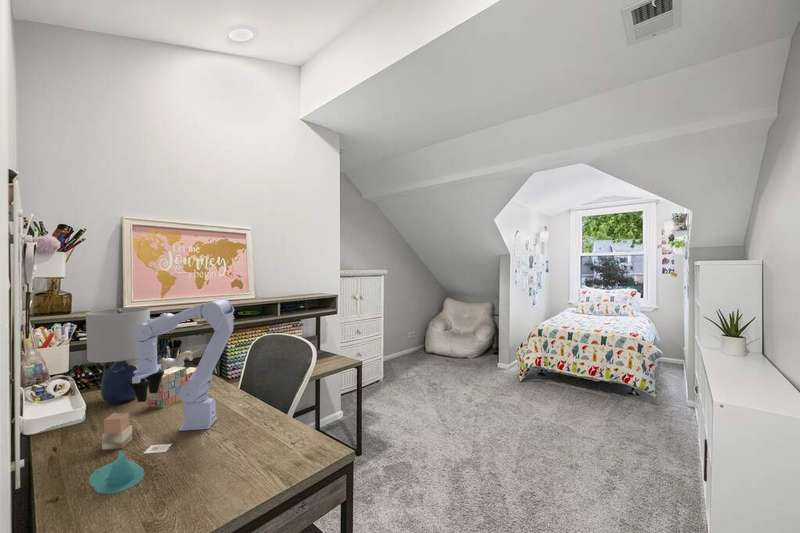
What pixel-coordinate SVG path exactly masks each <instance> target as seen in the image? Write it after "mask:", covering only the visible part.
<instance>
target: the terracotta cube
mask: <svg viewBox="0 0 800 533" xmlns="http://www.w3.org/2000/svg"><path fill="white" fill-rule="evenodd" d="M129 426H130V412H117V413H116V412H113V413H112V414H110V415H109V416H107V417H105V418H104V419H103V427H104V428H103V429H104V431H103V432H104V433H103V434H118V433H122V432H123V431H124V430H126V429H127V428H128V427H129Z"/></svg>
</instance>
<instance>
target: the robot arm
mask: <svg viewBox="0 0 800 533" xmlns="http://www.w3.org/2000/svg"><path fill="white" fill-rule="evenodd" d="M234 313H235V308H234V306H233V304H232V303H231V301H230V300H228V299H226V298H220V299H218V300H212V301H207V302H204V303H199V304H195V305H194V306H191V307H188V308H187V309H185V310H182V311H180V312H178V313H176V314H173V313H170V312H167V313H166V312H163V313H161V314H160V316H158V317H156V318H150V319H149V320H147V321H148V322H146V323H143V324H138V325H137V326H135V327H134V328H133V330H132V336H133V338H134V339H135V340H136V347H137V358H136V368H137V370H136V371H134V374H135V376H134V377H132V381H131V382H129V385H130V386H131V388H132V389H133V390H134V392H135V395H136V397H135V398H136V400H137V402H138V403H144V402H146V401H147V398H148V397H147V396H148V392H149V391H150V393H157V392H158V389H159V384H160V381H161V378H162V376H163V374H164V371H161V364H160V363H159V364H158V345H157V344H158V343H157V342H158V337H159V336H161V335H163V334H166V333H167V332H170V331H172V330H175V329H176V328H178V326H179V324H180V323H183V322H185V321H187V320H190V319H194V318H196V317H198V318H199V319H202V318H203V319H205V321H206V322H207V323H208V324H209V325H210V326H211V328H213V330H214V332H213V334H212V336H211V338H210V340H209V342H208V344H207V347H206V348H205V350H204V352H203V354H202V357H201V358H200V361H199V362H198V364H197V366H196V367H195V368H196V370H195V372H194V374H193V375H192V376H191V377H190V378H189V379H188V381H187V383H186V384H185V385H184V386H182V387H181V389H180V390H179V397H180V399H181V400H180V401H182V404H183V425H181V427H180V428H179V429H178V431H180V432H181V431H196V430H198V431H199V430H209V429H210V428H211V427H212V425H214V423H215V422H216V420H217V419H218V418H217V401H216V399H215V398H211V397H209V396H208V392H209V391H210V389H211V387H212V380H213V375H212V374H213V371H214V370H215V368H216V365H217V364H218V362H219V360H220V359H221V356H222V354H223V352H224V349H225V348H226V345H227V344H228V342H229V340H230V338H231V336H232V333H233V332H234Z"/></svg>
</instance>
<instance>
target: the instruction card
mask: <svg viewBox="0 0 800 533" xmlns="http://www.w3.org/2000/svg"><path fill="white" fill-rule="evenodd" d="M172 444H173V443H167V444H165V443H163V444H153V445H152V444H151V445H150V446H149V447H148V448H147V449H146V450H145V451H144V452H143V453H142V454H143V455H144V454H145V455H146V454H156V453H157V454H160V453H161V454H162V453H166V452H167V451H168V450H169V449H170V448H171V447H172V446H171V445H172ZM170 446H171V447H170ZM169 447H170V448H169Z"/></svg>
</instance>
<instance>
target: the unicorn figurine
mask: <svg viewBox="0 0 800 533" xmlns="http://www.w3.org/2000/svg"><path fill="white" fill-rule="evenodd" d="M201 350H202V348H199V349H197V350H195V351H191V349H190V350H186V351H183V352H181V353H179V354H178V355H177V356H176V357H175V358H171V357H166V358H165V357H162V358H160V360H159V364H161V370H160V371H164V370H166V369H169V368H172V367H184V366H185V360H186V358H187V359H188V361H193V359H194V356H193V354H195V353H197V352H199V351H201Z"/></svg>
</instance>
